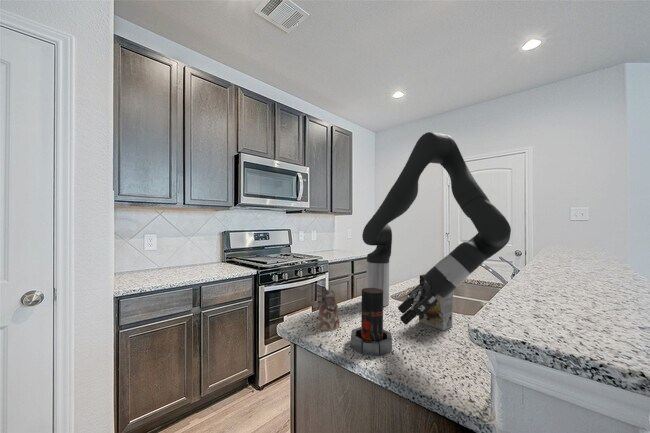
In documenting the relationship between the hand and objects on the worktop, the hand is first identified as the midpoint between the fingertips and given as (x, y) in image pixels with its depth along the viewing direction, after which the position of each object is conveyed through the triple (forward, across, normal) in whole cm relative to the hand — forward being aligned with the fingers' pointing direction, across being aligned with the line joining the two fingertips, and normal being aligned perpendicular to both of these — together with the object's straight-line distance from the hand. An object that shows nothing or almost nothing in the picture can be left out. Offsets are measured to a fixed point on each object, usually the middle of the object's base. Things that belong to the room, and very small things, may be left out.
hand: (401, 315), depth 76 cm
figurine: (+22, -11, -9) cm, 26 cm away
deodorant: (+12, 0, +1) cm, 12 cm away
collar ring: (+12, 0, 0) cm, 12 cm away
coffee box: (-3, -20, +15) cm, 26 cm away
